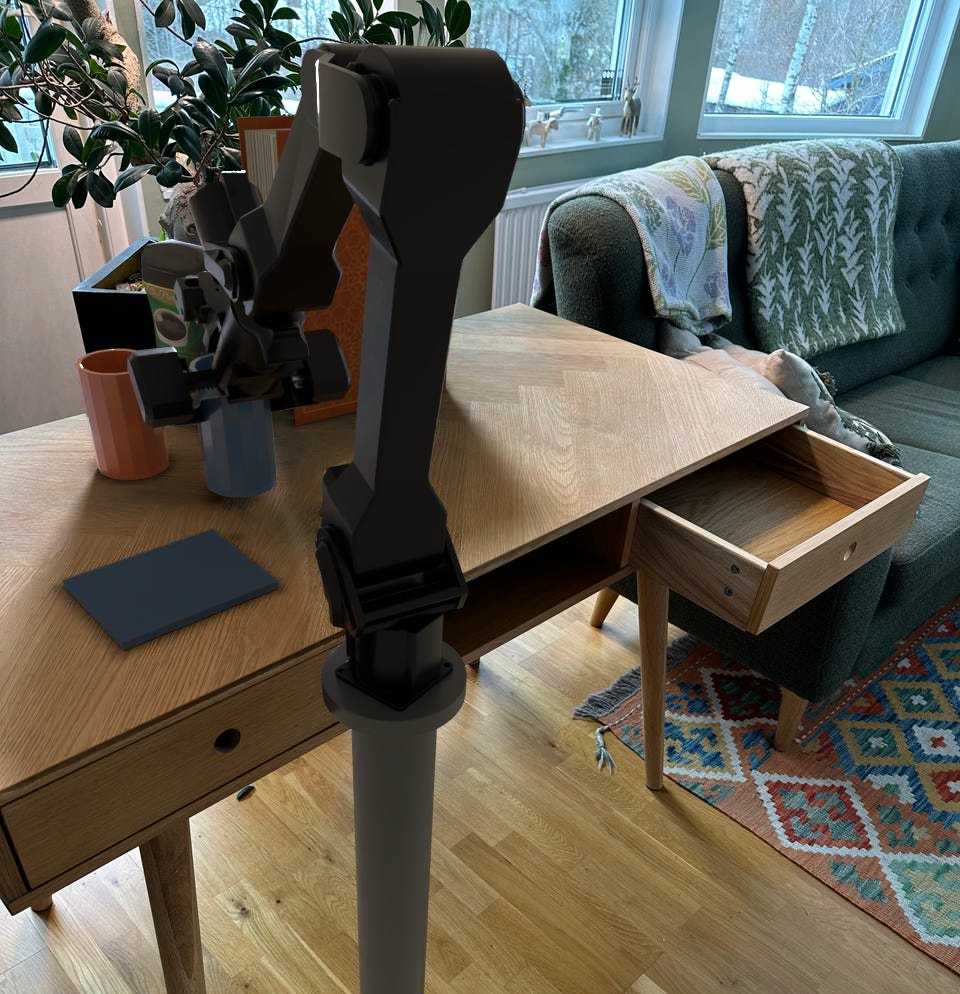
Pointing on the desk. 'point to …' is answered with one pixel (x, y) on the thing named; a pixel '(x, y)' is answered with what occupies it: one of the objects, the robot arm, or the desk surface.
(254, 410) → the blue cup
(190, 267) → the coffee jar
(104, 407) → the terracotta cup
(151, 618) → the blue mat
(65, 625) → the desk surface
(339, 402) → the book
